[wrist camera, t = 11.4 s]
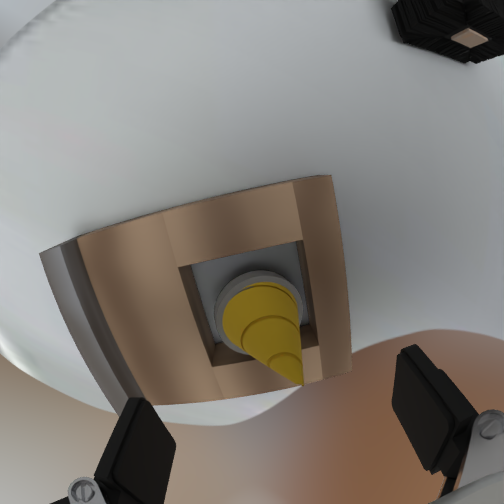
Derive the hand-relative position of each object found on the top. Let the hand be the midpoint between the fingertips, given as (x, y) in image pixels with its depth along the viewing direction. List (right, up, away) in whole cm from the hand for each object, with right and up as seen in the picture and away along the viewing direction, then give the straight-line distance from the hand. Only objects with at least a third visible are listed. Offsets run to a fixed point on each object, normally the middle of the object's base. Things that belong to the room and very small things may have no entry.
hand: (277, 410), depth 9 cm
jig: (-4, +2, +11) cm, 12 cm away
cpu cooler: (+15, +25, +6) cm, 30 cm away
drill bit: (-1, +3, +11) cm, 12 cm away
